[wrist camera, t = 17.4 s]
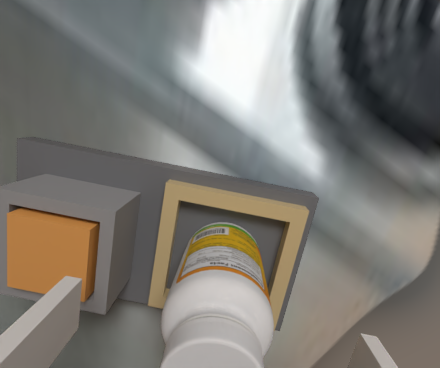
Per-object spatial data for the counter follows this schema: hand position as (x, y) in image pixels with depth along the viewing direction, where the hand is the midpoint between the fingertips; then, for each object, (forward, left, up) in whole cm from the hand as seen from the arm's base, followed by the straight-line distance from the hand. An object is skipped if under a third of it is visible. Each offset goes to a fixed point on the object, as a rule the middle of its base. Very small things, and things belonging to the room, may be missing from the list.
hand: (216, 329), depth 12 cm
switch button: (-9, +4, -6) cm, 12 cm away
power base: (-4, +2, -9) cm, 10 cm away
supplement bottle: (0, 0, -7) cm, 7 cm away
